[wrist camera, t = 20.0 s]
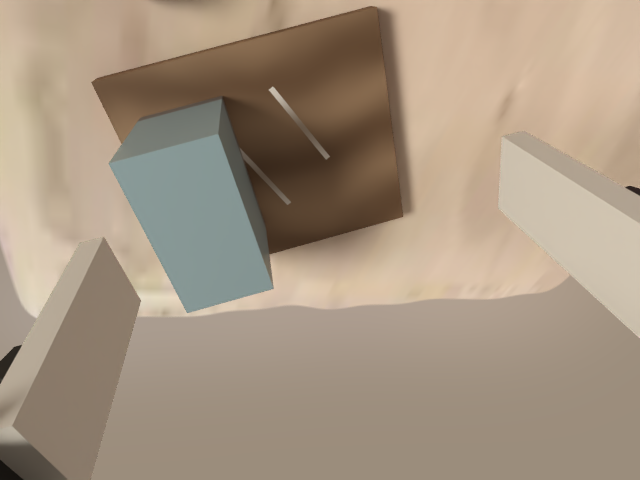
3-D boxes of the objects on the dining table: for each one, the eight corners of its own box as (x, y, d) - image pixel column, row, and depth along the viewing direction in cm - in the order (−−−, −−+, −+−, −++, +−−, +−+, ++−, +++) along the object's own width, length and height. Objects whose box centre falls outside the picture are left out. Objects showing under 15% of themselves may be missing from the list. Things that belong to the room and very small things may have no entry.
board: (97, 78, 30) (91, 82, 28) (371, 6, 30) (377, 7, 29) (188, 267, 39) (187, 277, 38) (397, 209, 40) (403, 216, 38)
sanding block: (140, 117, 30) (108, 163, 23) (222, 95, 30) (218, 133, 23) (197, 243, 36) (187, 313, 28) (265, 224, 36) (273, 288, 29)
